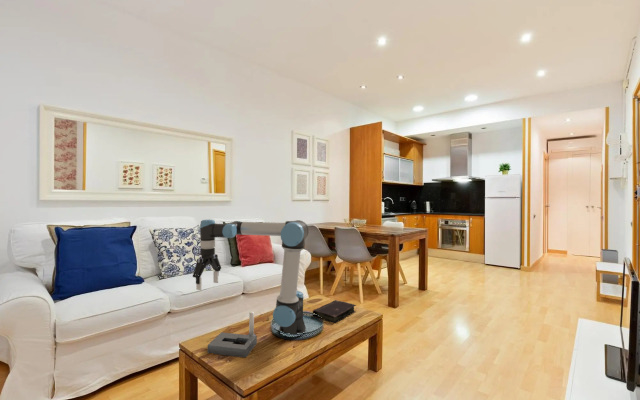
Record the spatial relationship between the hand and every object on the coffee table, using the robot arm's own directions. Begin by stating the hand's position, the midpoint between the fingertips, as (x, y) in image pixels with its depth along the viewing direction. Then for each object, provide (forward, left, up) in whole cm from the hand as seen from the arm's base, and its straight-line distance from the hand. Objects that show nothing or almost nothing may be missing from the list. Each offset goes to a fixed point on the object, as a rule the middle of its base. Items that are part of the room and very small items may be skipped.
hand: (207, 286), depth 169 cm
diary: (-66, -44, -28) cm, 84 cm away
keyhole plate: (-20, +11, -27) cm, 36 cm away
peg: (-25, -1, -27) cm, 37 cm away
